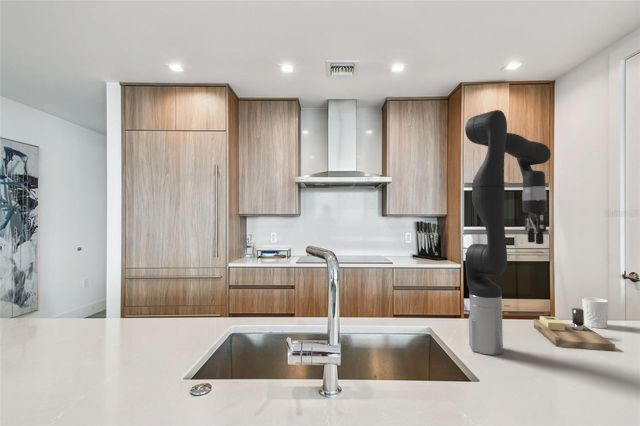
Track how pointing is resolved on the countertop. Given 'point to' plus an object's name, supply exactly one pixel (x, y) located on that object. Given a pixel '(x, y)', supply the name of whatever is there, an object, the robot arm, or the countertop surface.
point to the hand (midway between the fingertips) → (535, 243)
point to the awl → (578, 319)
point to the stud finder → (552, 323)
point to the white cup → (595, 312)
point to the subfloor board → (575, 337)
